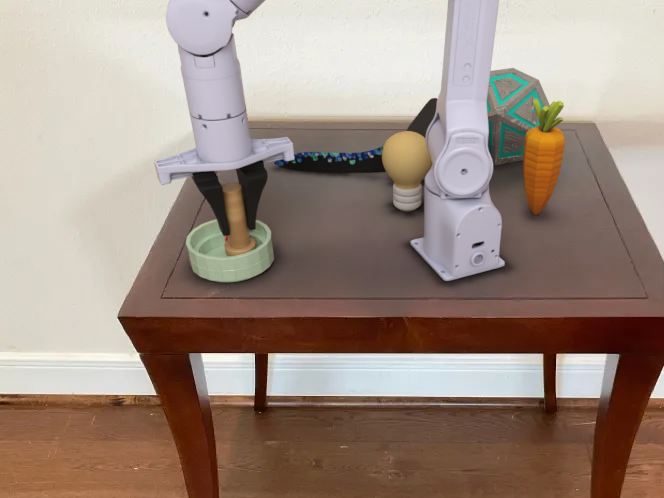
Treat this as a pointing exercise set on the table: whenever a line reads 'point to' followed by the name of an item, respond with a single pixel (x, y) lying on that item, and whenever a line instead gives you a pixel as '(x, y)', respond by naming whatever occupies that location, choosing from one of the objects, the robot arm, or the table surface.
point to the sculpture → (511, 113)
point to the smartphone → (424, 118)
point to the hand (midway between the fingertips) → (237, 228)
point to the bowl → (214, 262)
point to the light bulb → (406, 167)
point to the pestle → (236, 221)
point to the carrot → (543, 156)
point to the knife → (336, 162)
